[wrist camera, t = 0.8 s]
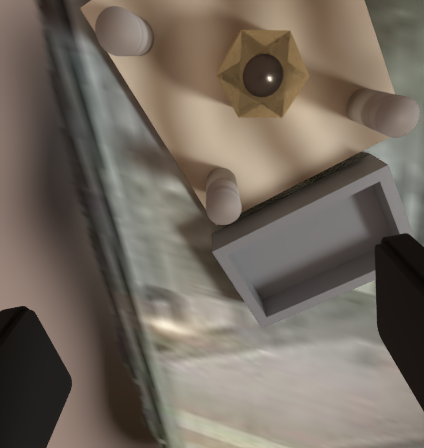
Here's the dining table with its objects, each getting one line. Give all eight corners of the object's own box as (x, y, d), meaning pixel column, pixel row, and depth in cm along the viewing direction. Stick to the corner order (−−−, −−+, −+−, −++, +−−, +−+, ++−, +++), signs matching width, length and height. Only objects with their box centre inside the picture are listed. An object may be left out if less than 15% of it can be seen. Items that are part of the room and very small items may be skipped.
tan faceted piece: (267, 14, 26) (280, 5, 21) (300, 90, 28) (318, 97, 23) (205, 53, 27) (204, 53, 22) (242, 124, 29) (248, 137, 24)
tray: (370, 153, 31) (388, 164, 28) (403, 240, 35) (422, 259, 32) (211, 234, 34) (212, 252, 31) (257, 305, 38) (261, 328, 35)
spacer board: (308, -152, 23) (346, -232, 16) (400, 126, 30) (450, 145, 24) (84, 9, 26) (44, -5, 20) (215, 221, 34) (217, 259, 28)
